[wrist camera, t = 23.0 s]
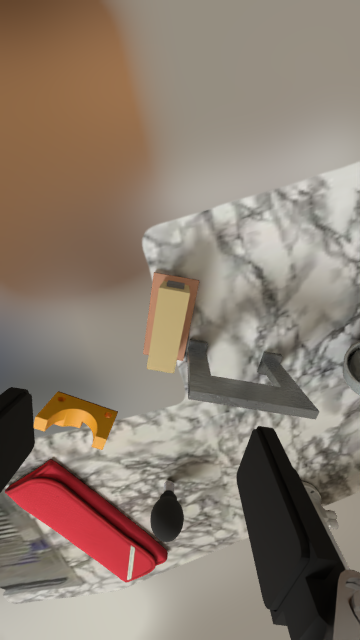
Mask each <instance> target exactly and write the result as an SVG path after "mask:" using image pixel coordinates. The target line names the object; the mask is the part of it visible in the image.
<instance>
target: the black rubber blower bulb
mask: <svg viewBox="0 0 360 640" xmlns="http://www.w3.org/2000/svg"><path fill="white" fill-rule="evenodd" d="M183 521H184V515H183V510H182V507H181V505H180V504H179V502H178V501H177V497H176V495H175V494H174V483H173V482H172V481H166V482H165V485H164V493H163V494H162V495H161V496H160V499H159V500H158V501H157V502H156V504H155V505H154V507H153V509H152V512H151V528H152V531H153V533H154V535H155V536H156V537H157V538H158V539H159V540H161V541H163V542H170V541H172V540H174V539H175V538H176V537H177V536H178V535H179V533H180V532H181V529H182V526H183Z"/></svg>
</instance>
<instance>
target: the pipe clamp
mask: <svg viewBox="0 0 360 640" xmlns="http://www.w3.org/2000/svg"><path fill="white" fill-rule="evenodd" d="M117 413H118V411H115V410H112V409H109V408H106V407H103V406H100V405H98V404H95V403H92V402H89V401H86V400H83V399H80V398H77V397H74V396H71V395H68V394H66V393H63V392H60V391H58V392H57V393H56V394H55V395H54V397H53V398H52V399H51V400H50V401H49V402H48V403H47V404H46V406H45V407H44V408H43V409H42V410H41V411H40V412H39V413H38V415H37V416H36V418H35V422H34V428H35V429H38V430H41V431H45V430H46V429H47V428H48V427H50V426H51V425H52V424H56V425H59V426H62V427H63V426H74V427H78V428H80V427H81V425H82V423H83V422H84V423H85V424H87V425H88V426H89V427H90V429H91V430H92V432H93V444H92V447H94V448H97V449H100V450H103V447H104V445H105V443H106V440H107V438H108V435H109V433H110V430H111V428H112V425H113V423H114V421H115V418H116V416H117Z"/></svg>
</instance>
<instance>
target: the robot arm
mask: <svg viewBox="0 0 360 640" xmlns="http://www.w3.org/2000/svg"><path fill="white" fill-rule="evenodd" d="M34 444H35V440H34V424H33V409H32V396H31V394H29V392H28V390H26V389H20V388H13V387H11V388H9V389H7V390H6V391H5V392H4V393H2V394H1V395H0V493H1V491H2V490H3V489H4V487H5V486H6V485H7V483H8V482H9V481H10V479H11V478H12V477H13V475H14V474H15V473H16V471H17V470H18V469H19V467H20V466H21V465H22V463H23V462H24V461H25V459H26V458H27V457H28V455H29V454H30V453H31V451H32V449H33V447H34ZM237 485H238V489H239V494H240V498H241V503H242V507H243V512H244V516H245V521H246V525H247V530H248V534H249V539H250V543H251V548H252V552H253V557H254V561H255V566H256V570H257V575H258V579H259V584H260V588H261V593H262V597H263V601H264V604H265V606H266V607H267V609H270V612H271V616H272V620H273V624H276V625H284V626H288V630H289V634H290V638H291V640H360V573H359V572H357V571H355V570H350V568H349V566H348V564H347V562H346V560H345V558H344V557H343V555H342V553H341V551H340V549H339V547H338V545H337V543H336V541H335V539H334V537H333V535H332V533H331V531H330V529H329V528H333V529H338V522H337V520H336V519H337V515H336V513H335V512H334V511H331V510H325V509H324V508H323V507H322V505H321V496H320V494H319V492H318V491H317V489H316V488H315V487H314V486H313V485H311V484H309V483H306V482H303V481H301V479H300V477H299V475H298V473H297V472H296V470H295V469H294V468H293V467H292V465H291V463H290V461H289V459H288V457H287V455H286V453H285V451H284V449H283V446H282V444H281V442H280V440H279V438H278V436H277V434H276V432H275V431H274V429H273V428H268V427H262V426H258V427H257V429H254V430H253V431H252V434H251V437H250V439H249V442H248V445H247V447H246V450H245V453H244V455H243V458H242V461H241V463H240V466H239V469H238V472H237Z"/></svg>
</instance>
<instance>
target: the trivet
mask: <svg viewBox="0 0 360 640" xmlns="http://www.w3.org/2000/svg"><path fill="white" fill-rule="evenodd" d="M168 280H170V281H176V282H181V283H185V285H189V289H190V296H189V301H188V306H187V311H186V316H185V321H184V326H183V331H182V336H181V341H180V346H179V351H178V356H177V360H181V361H183V359H184V354H185V349H186V344H187V339H188V334H189V329H190V324H191V319H192V314H193V309H194V305H195V300H196V295H197V290H198V285H199V280H194V279H188V278H182V277H177V276H171V275H166V274H160V273H155V272H154V276H153V284H152V291H151V299H150V306H149V314H148V321H147V329H146V337H145V344H144V352H143V354H145V355H149V350H150V344H151V337H152V330H153V324H154V317H155V310H156V304H157V297H158V291H159V287H160V285H161V284H162V282H163V281H168Z"/></svg>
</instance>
